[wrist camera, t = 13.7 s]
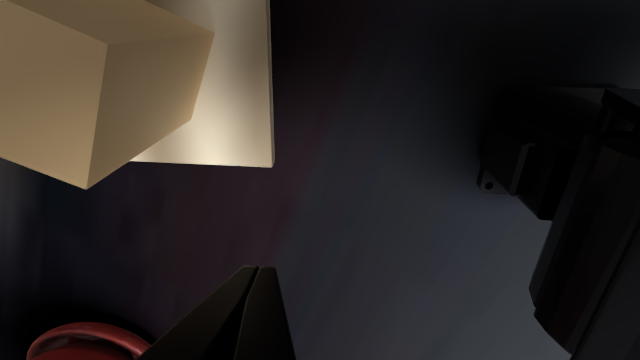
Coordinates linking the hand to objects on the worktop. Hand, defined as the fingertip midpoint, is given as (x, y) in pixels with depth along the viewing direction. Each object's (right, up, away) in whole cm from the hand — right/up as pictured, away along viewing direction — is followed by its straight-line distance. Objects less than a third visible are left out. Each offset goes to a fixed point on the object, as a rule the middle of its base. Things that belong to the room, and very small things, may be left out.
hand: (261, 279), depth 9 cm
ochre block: (-7, +9, +9) cm, 15 cm away
